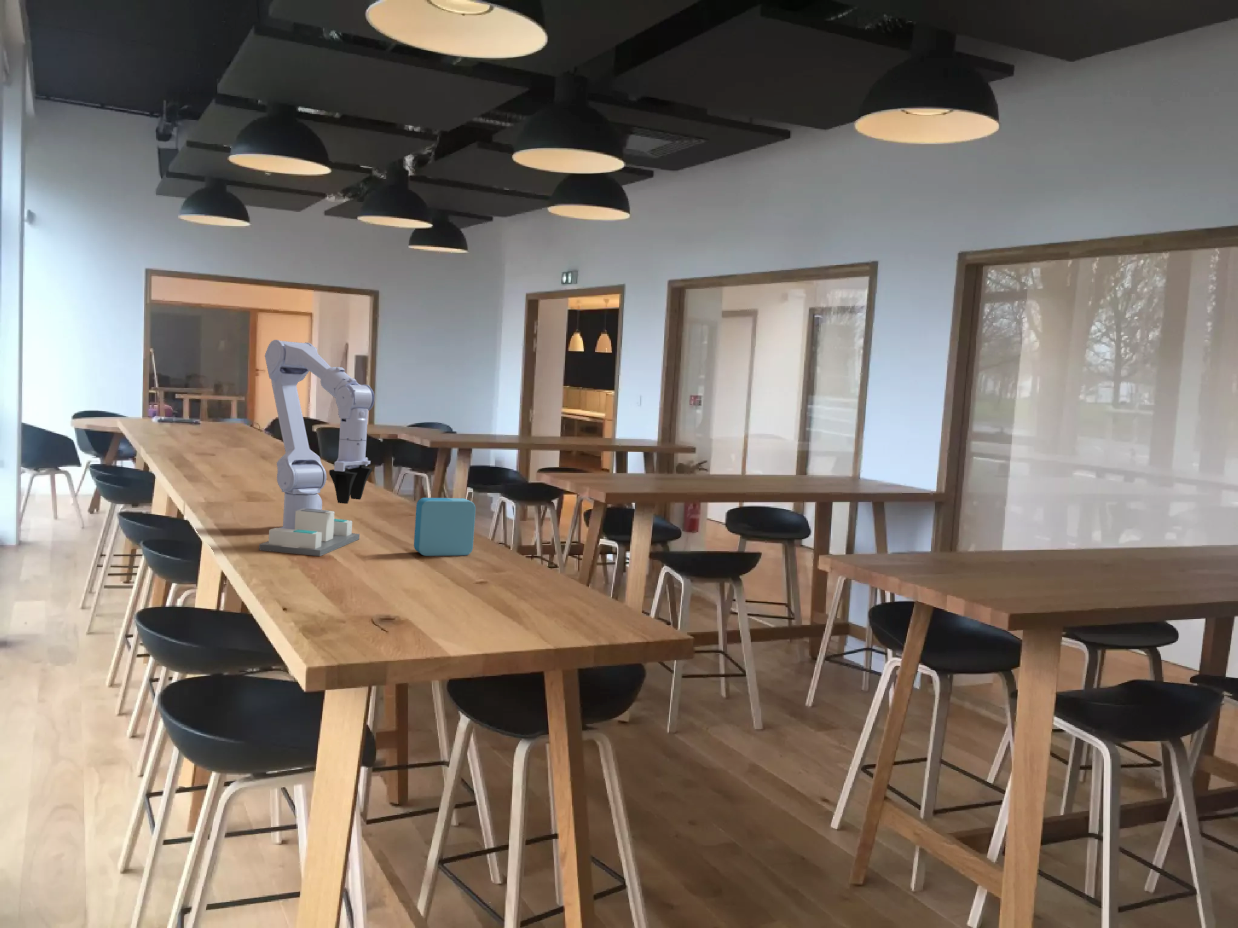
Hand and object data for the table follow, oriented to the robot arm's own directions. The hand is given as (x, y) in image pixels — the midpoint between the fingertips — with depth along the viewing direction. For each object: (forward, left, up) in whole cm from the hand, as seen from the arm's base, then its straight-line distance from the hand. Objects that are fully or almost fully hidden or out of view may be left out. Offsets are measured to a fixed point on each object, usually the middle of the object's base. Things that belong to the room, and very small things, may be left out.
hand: (349, 501), depth 212 cm
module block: (+5, -6, -8) cm, 11 cm away
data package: (+1, +22, -10) cm, 24 cm away
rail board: (+5, -6, -9) cm, 12 cm away
